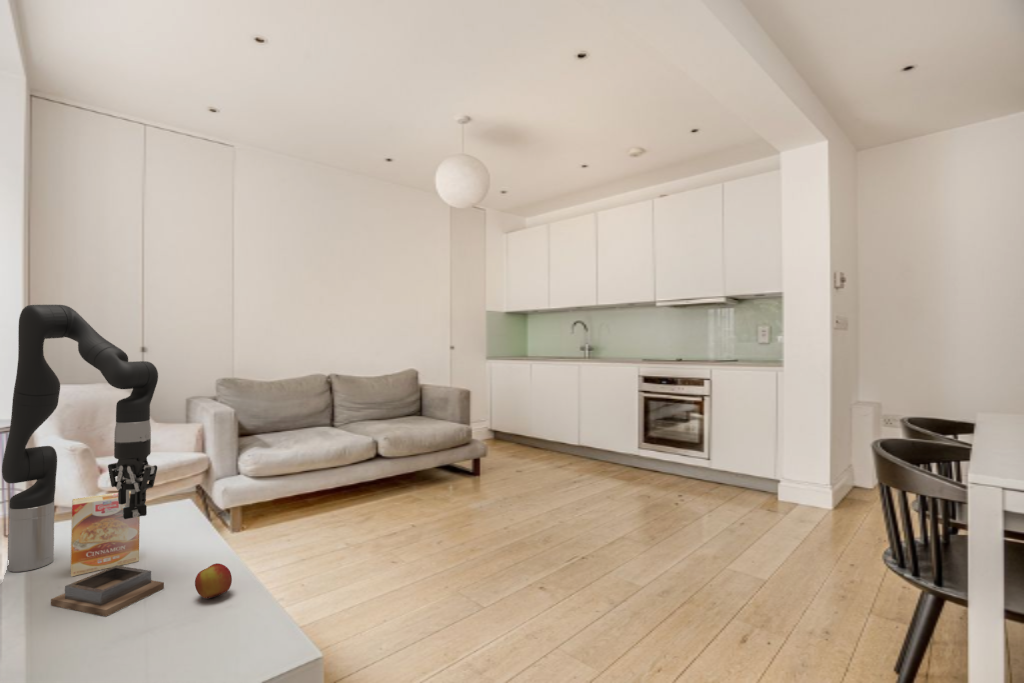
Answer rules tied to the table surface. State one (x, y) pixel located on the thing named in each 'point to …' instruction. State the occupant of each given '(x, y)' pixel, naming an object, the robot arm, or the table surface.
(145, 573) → the socket
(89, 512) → the coffeecake box
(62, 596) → the mounting board
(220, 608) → the table surface
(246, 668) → the table surface
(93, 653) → the table surface
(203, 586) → the apple
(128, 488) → the push button
